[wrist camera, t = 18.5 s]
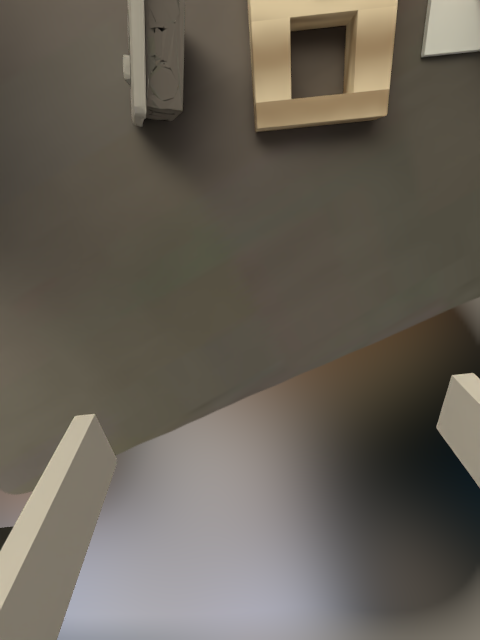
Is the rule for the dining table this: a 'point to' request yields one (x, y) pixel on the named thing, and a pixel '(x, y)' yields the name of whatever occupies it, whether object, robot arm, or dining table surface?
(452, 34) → the mat
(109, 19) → the dining table surface
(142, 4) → the electrical switch
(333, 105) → the socket block
